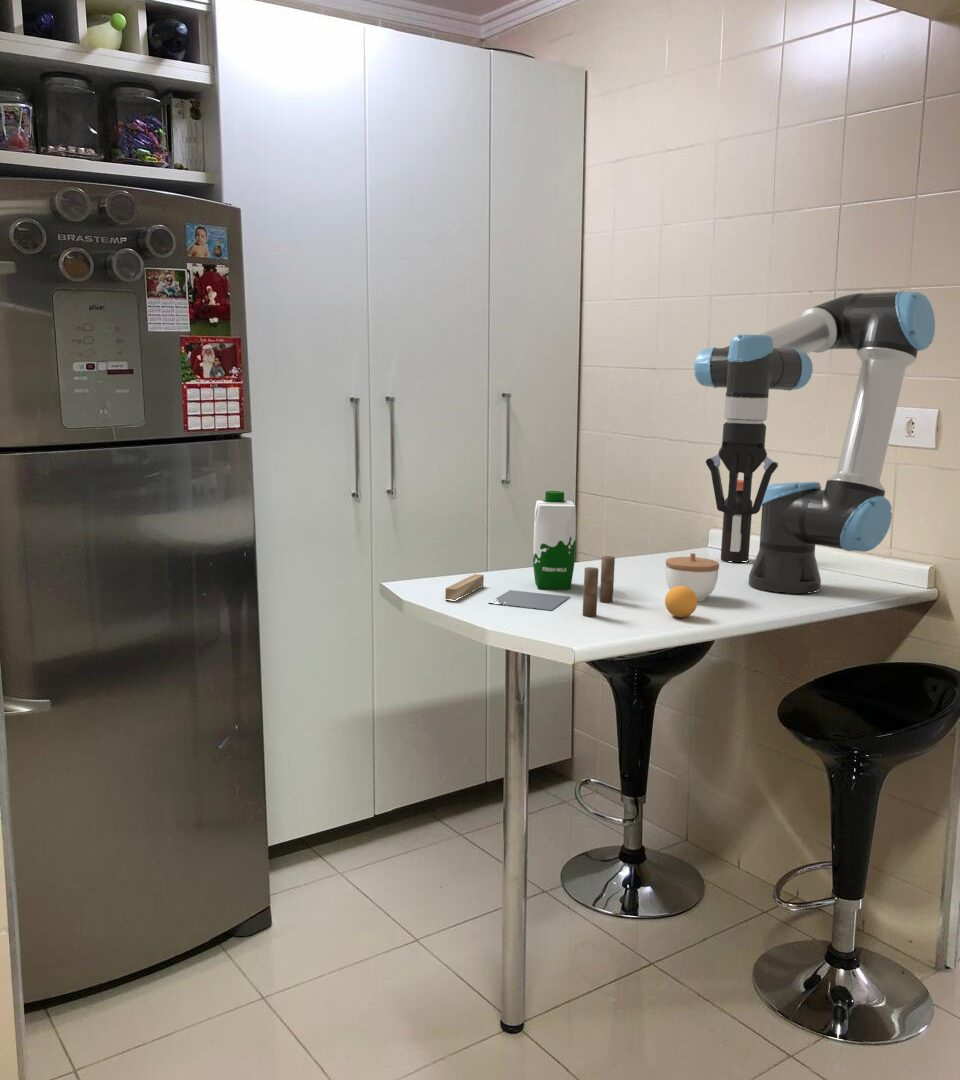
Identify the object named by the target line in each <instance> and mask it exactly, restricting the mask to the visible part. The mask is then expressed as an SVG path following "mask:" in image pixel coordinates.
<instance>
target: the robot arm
mask: <svg viewBox="0 0 960 1080" xmlns="http://www.w3.org/2000/svg"><path fill="white" fill-rule="evenodd" d="M935 332H936V319H935V313H934V310H933V305H932V303H931V302H930V301H929V299H928V297H927V296H925V294H923V293H921V292H918V291H904V290H899V291H894V292H893V291H891V292H888V291H887V292H867V293H863V292H862V293H861V292H859V293H851V294H847V295H843V296H839V297H837V298H833V299H831V300H828V301H825V302H823V303H820V304H818V305H815V306H813V307H810V308H808V309H806V310H804V311H803V312H802V313H801V314H800V316H799V317H798V318H796V319H794V320H790V321H789V322H786V323H784V324H781V325H779V326H776V327H773V328H772V329H768V330H766V331H764V332H762V333H759V334H735V335H734V336H732V337H731V338H730V342H729V345H728V346H725V347H712V348H711V347H710V348H704V349H703V350H701V351H700V352H699V353H698V354H697V355H696V358H695V360H694V363H693V370H694V371H693V372H694V377H695V380H696V381H697V382H698V384H700V385H701V386H704V387H711V388H714V389H716V388H726V391H725V397H724V413H723V414H724V415H723V418H724V419H725V420H726V421H725V422H724V423H723V425H722V438H721V439H722V441H721V445H720V446H721V447H720V448H719V450H718V453H717V454H716V455H714V456H712V457H710V458H706V460H705V465H706V466H707V467H708V469H709V471H710V475H711V481H712V487H713V492H714V497H715V503H716V508H717V511H719V512H722V513H723V514H724V513H725V514H726V515H727V520H726V532H731V533H732V534H731V547H730V551H733V552H739V551H740V547H741V534H742V533H743V534H746V533H747V531H748V522H749V516H750V515H755V514H759V512H760V511H761V517H760V518H761V519H760V535H759V546H758V547H759V549H758V553H757V554H756V557H755V558H754V559H755V560H754V562H753V563H752V567H751V570H750V572H749V575H748V586H750V585H751V586H750V587H752V586H753V587H752V588H754V587H755V588H754V589H757V588H758V589H757V590H761V589H762V591H765V590H768V591H767V592H771V591H775V592H774V593H778V592H786V593H785V594H790V593H807V594H809V593H808V592H814V591H817V590H819V589H820V590H821V585H822V584H821V583H822V579H821V575H820V570H819V567H818V563H817V558H816V553H815V552H816V546H817V545H818V546H822V547H828V548H834V549H839V550H845V551H847V552H854V551H855V552H862V553H864V552H870V551H872V550H874V549H875V548H877V547H878V545H880V544H881V543H882V542H883V541H884V539H885V537H886V535H887V534H888V531H889V530H890V526H891V522H892V518H893V517H892V516H893V512H891V511H892V509H893V508H892V505H891V502H890V501H889V499H887V498H886V497H885V494H886V489H885V488H884V486H883V485H882V483H881V476H882V473H883V469H884V463H885V459H886V455H887V451H888V447H889V446H888V445H889V442H890V438H891V434H892V429H893V426H894V425H893V424H894V421H895V416H896V414H897V413H896V412H897V407H898V404H899V399H900V395H901V390H902V386H903V382H904V377H905V373H906V369H908V367H909V366H911V365H913V364H914V363H916V360H917V355H918V352H919V351H924V350H926V349H928V348H929V347H930V345H932V342H933V340H934V336H935ZM828 350H829V351H830V350H856V355H857V356H858V358H859V359H860V361H861V366H860V368H859V369H860V370H859V374H858V379H857V382H856V387H855V390H854V391H855V392H854V396H853V400H852V405H851V408H850V409H851V410H850V414H849V417H848V422H847V427H846V431H845V435H844V438H843V444H842V447H841V452H840V456H839V459H838V465H837V470H836V473H834V475H832V476H830V477H829V478H827V479H826V483H825V487H824V489H822V485H821V483H820V482H818V481H798V482H796V481H795V482H782V483H771V484H770V480H771V478H772V475H773V473H775V471H776V469H778V467H779V463H778V462H777V461H773V459H771V458H770V457H769V456H768V453H767V451H766V435H767V426H766V424H765V423H764V422H765V421H766V420H768V407H769V396H770V395H769V394H770V393H769V392H770V390H776V391H777V390H779V391H780V390H782V391H789V392H790V391H793V390H794V391H795V390H800V389H802V388H803V387H805V386H806V385H807V384H808V383H809V381H810V379H811V378H812V375H813V370H814V369H813V368H814V367H813V366H814V365H813V363H812V359H811V358H810V356H809V355H808V354H809V353H816V354H817V353H820V354H821V353H824V352H826V351H828ZM721 461H722V463H723V464H724V466H725V468H726V469H727V470H728V472H729V473H728V474H729V475H728V476H729V477H728V491H727V493H728V494H727V497H728V502H727V505H725V495H724V490H723V484H722V478H721V472H720V468H719V467H720V466H721ZM762 463H764V465H763V466H762V467H763V469H764V473H763V476H762V478H761V481H760V484H759V487H758V489H757V490H758V491H757V492H756V496H755V498H754V503H753V504H752V507H750V499H751V497H752V495H751V494H752V486H753V485H752V483H753V475H754V474H753V473H755V472H756V470H757V469H758V468H759V467H760V466H761V465H762ZM740 473H741V474H743V480H744V483H743V497H742V510H741V515H735V511H736V510H735V506H736V493H737V480H739V479H738V478H739V474H740ZM751 500H752V499H751Z"/></svg>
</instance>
